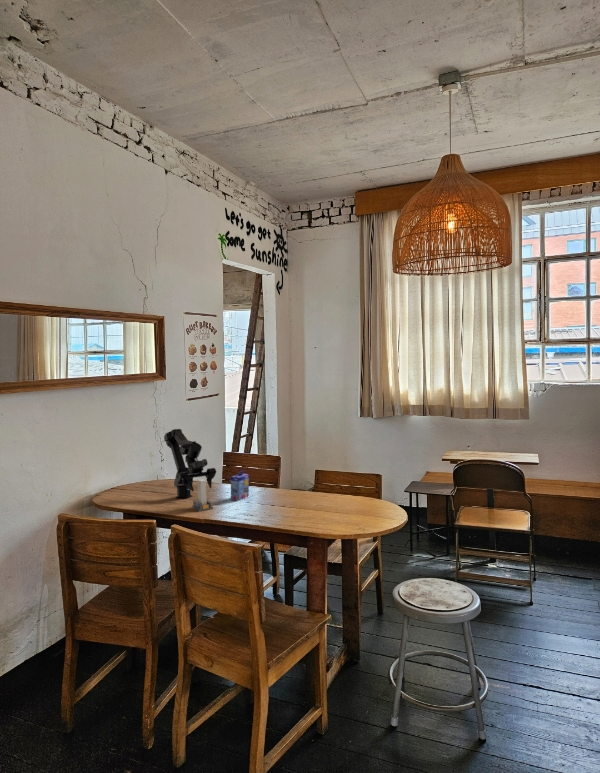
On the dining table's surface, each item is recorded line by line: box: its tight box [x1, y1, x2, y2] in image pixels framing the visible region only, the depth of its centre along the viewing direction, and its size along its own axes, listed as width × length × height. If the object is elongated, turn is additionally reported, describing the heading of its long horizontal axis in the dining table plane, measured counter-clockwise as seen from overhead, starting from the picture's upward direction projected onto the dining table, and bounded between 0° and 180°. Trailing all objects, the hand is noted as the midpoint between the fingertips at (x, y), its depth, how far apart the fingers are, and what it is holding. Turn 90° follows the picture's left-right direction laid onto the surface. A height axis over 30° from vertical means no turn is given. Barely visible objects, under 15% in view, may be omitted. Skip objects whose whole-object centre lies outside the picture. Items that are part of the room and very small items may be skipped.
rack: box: [192, 499, 214, 512], centre depth 258 cm, size 9×7×3 cm
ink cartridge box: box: [230, 470, 250, 501], centre depth 275 cm, size 10×6×14 cm, turn 152°
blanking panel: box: [196, 478, 208, 505], centre depth 258 cm, size 5×2×13 cm, turn 32°
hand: (202, 489), depth 257 cm, fingers open, 9 cm apart
